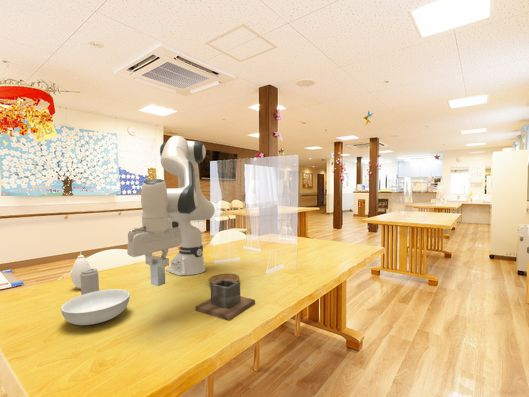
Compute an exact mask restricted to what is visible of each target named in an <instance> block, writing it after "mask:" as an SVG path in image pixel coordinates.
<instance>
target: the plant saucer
mask: <svg viewBox="0 0 529 397" xmlns="http://www.w3.org/2000/svg"><path fill="white" fill-rule="evenodd" d="M222 279H226V280H230V281H235V282H239V280H240V276H239V275H238V274H235V273H220V274H215V275H211V276H210V277H209V278H208V282H209V283H210V285H211V284H213V283H216V282H218V281H220V280H222Z"/></svg>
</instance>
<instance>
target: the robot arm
mask: <svg viewBox="0 0 529 397" xmlns="http://www.w3.org/2000/svg"><path fill="white" fill-rule="evenodd" d="M159 148H160V149H159V155H160V164H161V166H162V168H163V170H164V171H166V172H167V173H169V174H171V175H174V176H177V181H178V184H177V185H178V186H177V187H176V188H175V187H174V188H173V187H172V188H170V187H169V188H167V182H166V180H164V179H159V178H152V179H146V180H144V181H143V182H142V183H141V184H142V185H141V192H140V194H141V195H140V196H141V197H140V203H141V204H140V205H141V209H142V214H141V227H134V228H132V229H131V230H130V231H129V232H128V233H127V240H128V241H127V246H126V247H127V251H126V252H127V255H128V256H129V257H132V258H137V257H141V256H144V257H145V259H146V258H147V260H148V264H149V265H148V264H147V265H148V266H149V267H150V266H152V265H155V260H153V259H152V258H151V256H152V255H153V253H157V252H161V255H160V257H164V258H167V255H168V253H169V249H173V248H177V249H178V250H179V251H178V253H177V254H176V255H175V256H174V257H172V259H171V260H170V266H168V267H167V268H165V269H166V270H165V272H166V271H167V272H169V273H170V274H171V273H172V274H174V275H177V276H179V277H180V276H181V277H182V276H191V275H198V274H203V273H205V272H206V270H207V268H206V265H205V258H204V252H203V251H204V246H203V234H202V230H201V229H199V228H198V227H197V226H194V225H193V224H192V223H191V221H206V220H210V219H212V218H213V217H214V215H215V206H214V204H213V203H212V201H210V200H209V199H208V198H206V196H205V195H204V193H203V192H202V188H201V184H200V183H201V182H200V169H199V164H200V163H202V162H203V161H204V160H205V158H206V154H207V150H206V147H205V144H204V143H203V142H202V141H199V140H195V141H194V140H187V139H186V138H184V137H183V136H182V135H181V136H180V135H173V136H170V137H169V139H168V140H167V141H165V142H162V144H161V145H160V147H159Z"/></svg>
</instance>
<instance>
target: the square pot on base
mask: <svg viewBox="0 0 529 397" xmlns="http://www.w3.org/2000/svg"><path fill="white" fill-rule="evenodd" d="M255 304H256V300H255V299H253V298H250V297H245V296H241V282H239V281H237V282H235V281H230V280H226V279H222V280H220V281H218V282H216V283H213V284H211V283H210V299H209V298H208V299H207V300H205V301H203V302H201V303H199V304H197V305H196V306H195V311H197V312H199V313H204V314H207V315H209V316H213V317H216V318H219V319H223V320H226V321H230V320H232V319H233V318H235V317H237V316H238V315H240V314H241V313H243V312H244V311H246V310H247V309H249V308H251V307H252V306H254V305H255Z"/></svg>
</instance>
